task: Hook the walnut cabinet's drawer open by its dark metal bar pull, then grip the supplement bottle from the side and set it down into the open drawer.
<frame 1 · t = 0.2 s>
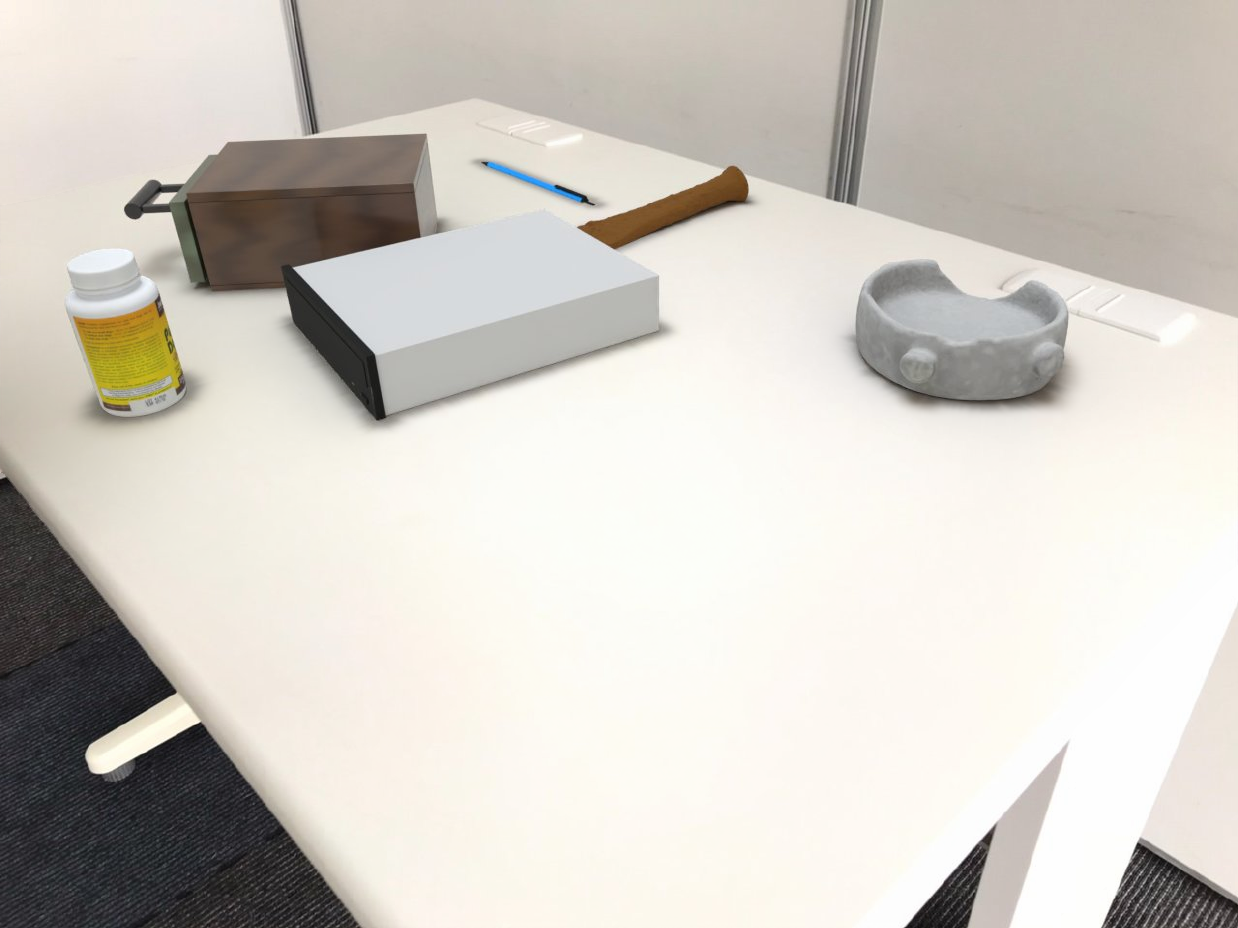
cabinet: (333, 257, 89), on the table
drawer: (268, 213, 87), point 4 cm above the table, slide at 0.5 cm
dish: (950, 364, 71), on the table
pen: (534, 189, 105), on the table
disc drive: (473, 333, 77), on the table
primitive tool: (664, 227, 94), on the table
supplement bottle: (146, 402, 69), on the table
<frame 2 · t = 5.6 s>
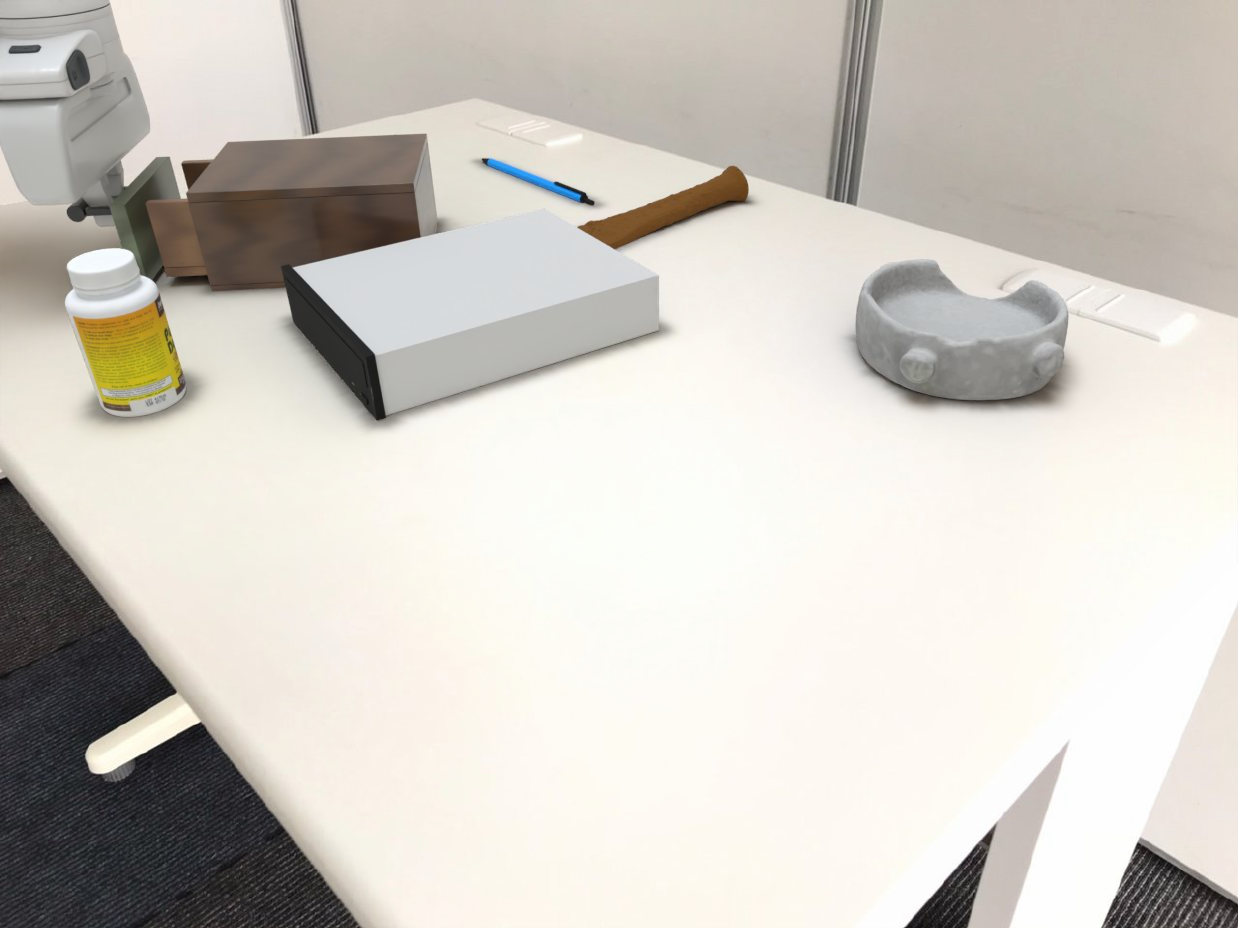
hand: (113, 220, 86), 4 cm above the table, tool pointing down, fingers closed, pressing on drawer
drawer: (214, 215, 86), point 4 cm above the table, slide at 5.1 cm, touching gripper
everything else where it was.
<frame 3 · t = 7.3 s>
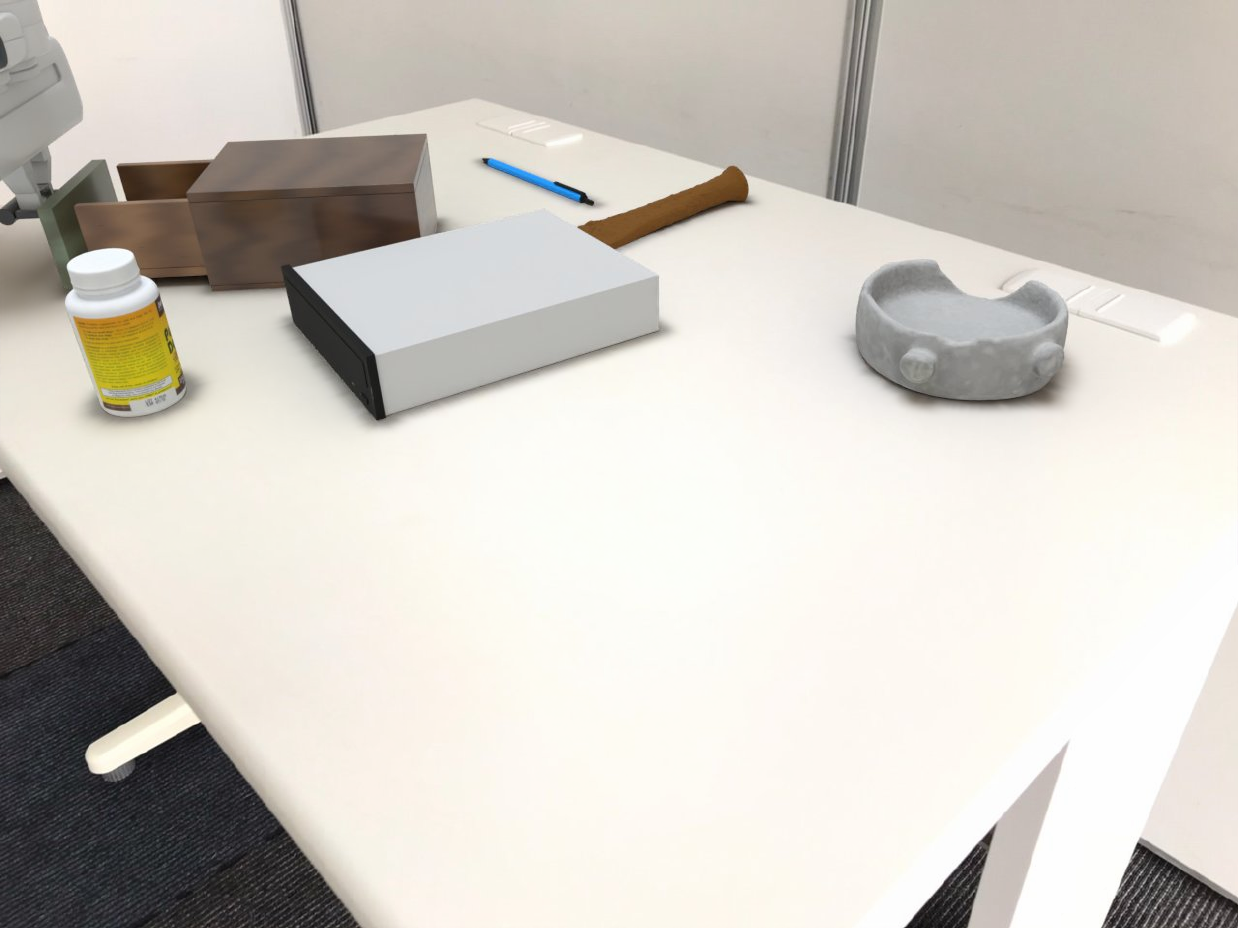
hand: (39, 208, 85), 6 cm above the table, tool pointing down, fingers closed
drawer: (148, 218, 86), point 4 cm above the table, slide at 10.6 cm, touching gripper
everything else where it was.
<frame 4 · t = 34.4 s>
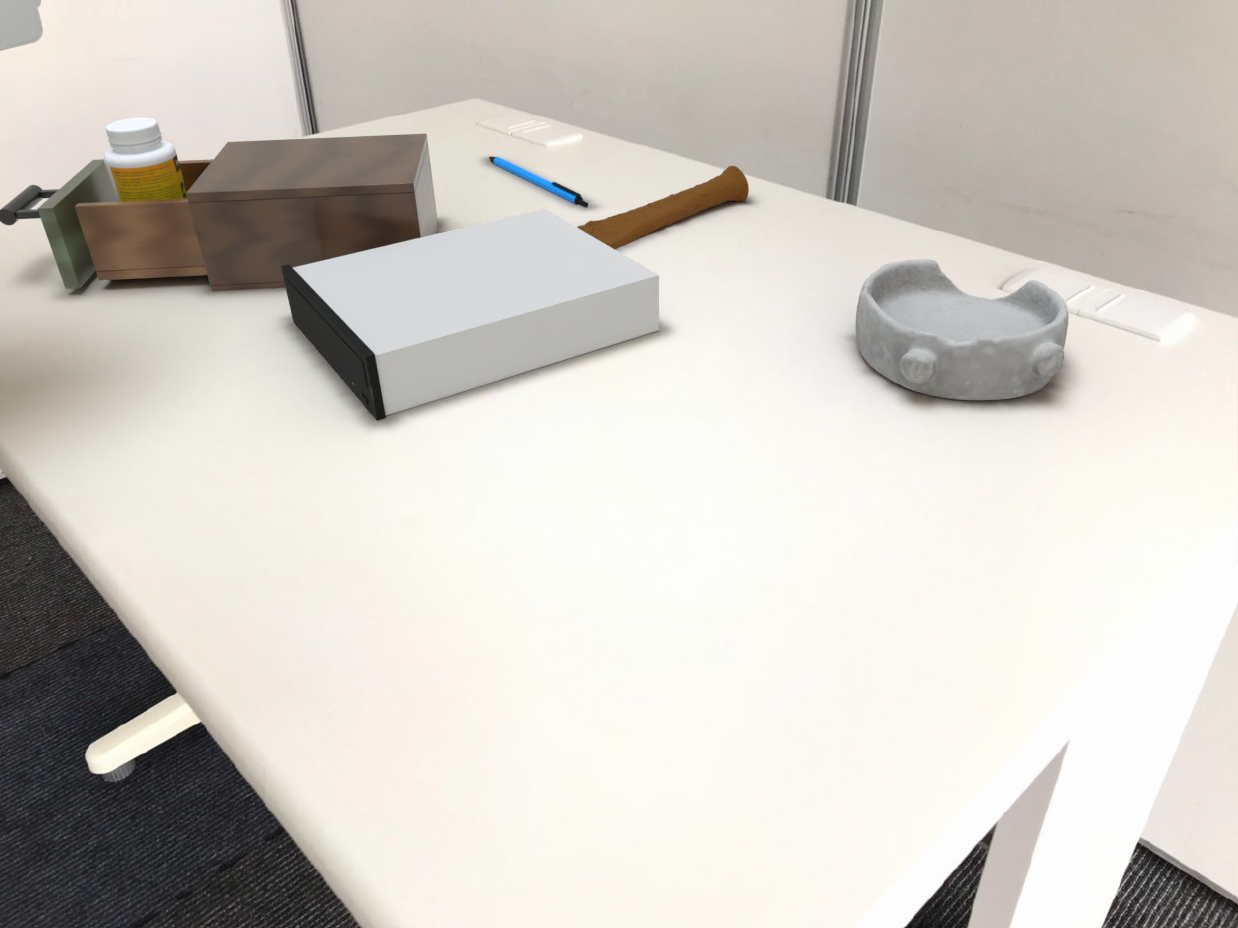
drawer: (149, 218, 86), point 4 cm above the table, slide at 10.6 cm, touching supplement bottle
supplement bottle: (166, 246, 88), point 2 cm above the table, touching drawer
everything else where it was.
at the end: drawer slide at 10.6 cm; supplement bottle inside the target area in the drawer (0.0 cm from its centre), point 1.8 cm above the cabinet's base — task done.
